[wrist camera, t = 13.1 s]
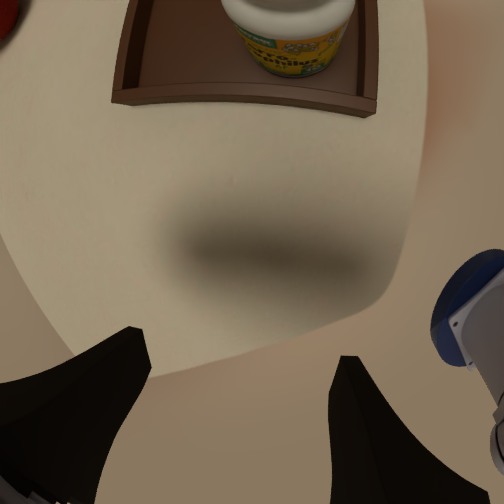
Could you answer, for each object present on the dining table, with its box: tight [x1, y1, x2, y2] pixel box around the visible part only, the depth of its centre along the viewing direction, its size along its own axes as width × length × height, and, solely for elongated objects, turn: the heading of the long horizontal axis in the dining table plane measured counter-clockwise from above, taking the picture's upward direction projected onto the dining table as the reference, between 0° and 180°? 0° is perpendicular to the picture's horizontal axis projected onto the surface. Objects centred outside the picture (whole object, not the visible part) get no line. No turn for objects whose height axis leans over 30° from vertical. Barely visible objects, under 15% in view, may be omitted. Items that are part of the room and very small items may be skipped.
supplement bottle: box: [221, 0, 355, 78], centre depth 8 cm, size 5×5×10 cm
